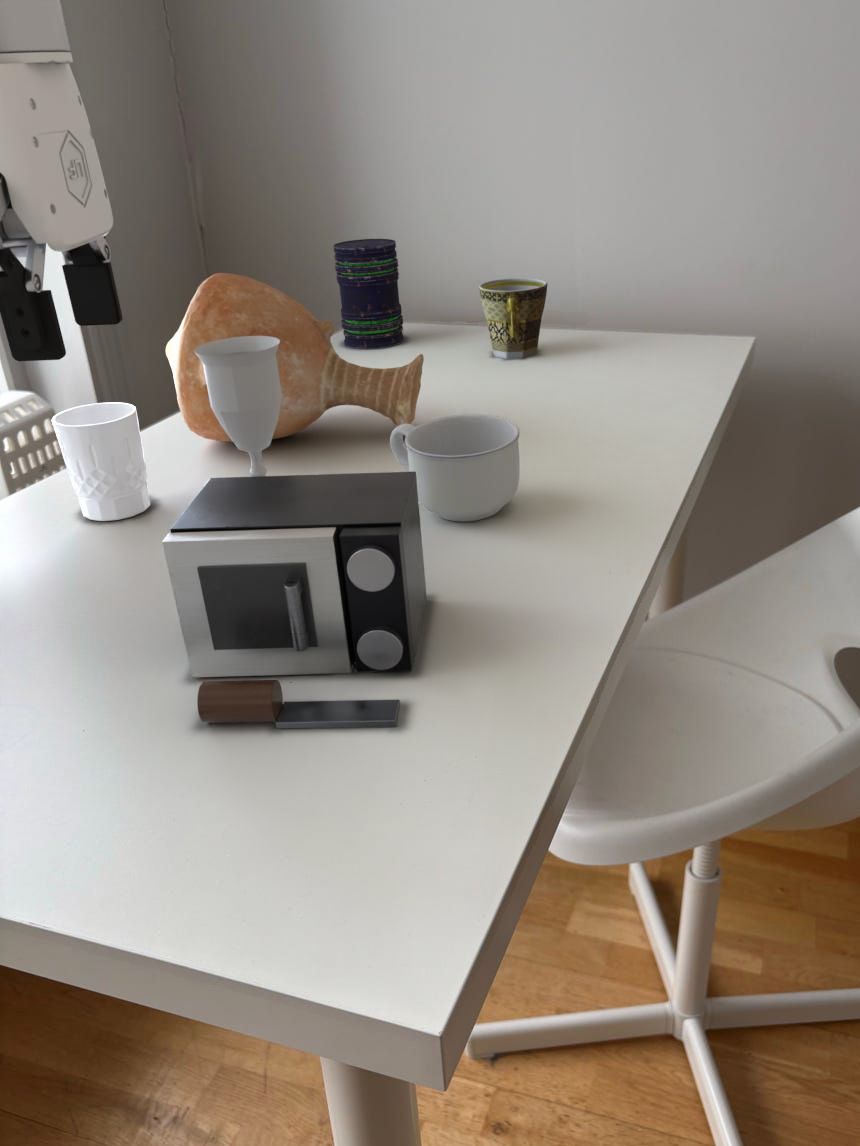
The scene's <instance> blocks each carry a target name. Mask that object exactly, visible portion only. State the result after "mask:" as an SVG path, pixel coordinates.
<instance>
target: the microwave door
mask: <svg viewBox="0 0 860 1146" xmlns="http://www.w3.org/2000/svg"><path fill="white" fill-rule="evenodd" d="M162 547H163V552H164V556H165V561H166V566H167V570H168V575H169V579H170V582H171V583H170V584H171V588H172V594H173V597H174V601H175V605H176V610H177V616H178V620H179V624H180V629H181V633H182V637H183V642H184V646H185V651H186V656H187V661H188V665H189V670H190V673H191V678H220V677H222V678H223V677H253V676H256V677H257V676H290V675H291V676H292V675H293V676H294V675H325V674H326V675H328V674H351V673H352V670H353V667H354V664H355V663H354V658H353V651H352V643H351V635H350V627H349V620H348V612H347V604H346V596H345V589H344V581H343V573H342V565H341V558H340V550H339V542H338V534H337V528H336V527H322V528H293V529H265V530H237V531H209V532H180V533H171V532H169V533H168V534H167V535H166V536H165V538H164V539H163V540H162Z"/></svg>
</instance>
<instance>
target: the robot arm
mask: <svg viewBox="0 0 860 1146" xmlns="http://www.w3.org/2000/svg"><path fill="white" fill-rule="evenodd" d="M66 27H67V26H66V23H65V18H64V14H63V8H62V4H61V0H0V318H1V322H2V324H3V328H4V332H5V336H6V340H7V343H8V347H9V350H10V354H11V357H12V358H13V359H14V361H17V362H37V361H59V360H61V359H63V358H64V357H65V356H66V355H67V350H66V346H65V342H64V338H63V333H62V329H61V325H60V322H59V317H58V313H57V310H56V306H55V302H54V298H53V292H52V289H43V288H44V287H43V286H44V276H45V264H46V251H47V247H49V249H51V250H52V251H54V252H56V253H57V252H59V253H61V254H62V255H63V257H64V258H65V260H66V262H67V263H65V264H63V265H61V268H62V272H63V276H64V280H65V284H66V288H67V292H68V297H69V301H70V305H71V309H72V314H73V317H74V322H75V324H76V325H78V326H80V327H87V326H89V327H90V326H110V325H111V326H113V325H118V324H120V323H122V322H123V314H122V313H123V312H122V309H121V308H122V307H121V304H120V299H119V294H118V289H117V285H116V280H115V276H114V272H113V267H112V262H111V260H112V252H111V248H110V246H109V244H108V242H107V240H106V236H107V235H108V234H109V233H110V231H112V228H113V226H114V216H113V211H112V210H113V209H112V207H111V206H112V205H111V201H110V197H109V194H108V190H107V186H106V182H105V178H104V174H103V169H102V167H101V166H102V165H101V162H100V158H99V154H98V151H97V150H98V149H97V147H96V143H95V139H94V135H93V132H92V129H91V124H90V121H89V117H88V114H87V111H86V108H85V107H86V106H85V105H84V102H83V99H82V96H81V92H80V90H79V87H78V84H77V82H76V79H75V76H74V74H73V71H72V69H71V66H70V64H73V63H74V59H73V55H72V52H71V46H70V41H69V37H68V32H67V28H66ZM18 258H25V261H24V265H23V264H22V262H21V261H20V259H18Z"/></svg>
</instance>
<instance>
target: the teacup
mask: <svg viewBox="0 0 860 1146" xmlns="http://www.w3.org/2000/svg"><path fill="white" fill-rule="evenodd" d="M403 434H404V435H406V437H405V438H404V441H403V437H404V435H403ZM519 438H520V429H519V427H518V425H517V424H516V423H515V422H513V421H511V420H510V419H507V418H504V417H502V416H497V415H492V414H482V413H463V414H453V415H446V416H441V417H438V418H437V417H436V418H434V419H430V420H428V421H425V422H423V423H421V424H419V425H416V426H415V425H414V424H412V423H411V424H401V425H399V426H396V427H394V429H393V430H392V431H391V433H390V438H389V445H390V448H391V452H392V454H393V456H394V458H395V459H396V461H397V462H398V463H399V464H400V465H401V466H402V467H403V468H404V469H405V470H407V472H413V471H415V472H416V479H417V481H416V482H417V491H418V503H419V504H420V505H421V506H422V507H423V508H425V509H426V510H428V511H429V512H431V513H433V514H434V515H435V516H437V517H438V518H441V519H443V520H446V521H450V522H475V521H480V520H484V519H486V518H490V517H492V516H494V515H495V514H497V513H498V512H500V511H501V510H502V508H504V506H506V505H507V504H508V503H509V502H510V501H511V500H512V499H513V498H514V496H515V495H516V493H517V491H518V488H519V482H520V445H519Z"/></svg>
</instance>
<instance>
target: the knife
mask: <svg viewBox="0 0 860 1146" xmlns="http://www.w3.org/2000/svg"><path fill="white" fill-rule="evenodd" d="M196 701H197V703H196V704H197V712H198V713H197V714H198V716H199V718H200V721H201V722H202V723H205V724H209V723H210V724H211V723H213V724H216V723H217V724H218V723H267V722H268V723H269V722H273V723H274V722H275V727H276V729H278V730H279V729H324V728H325V729H329V728H330V729H332V728H333V729H335V728H337V729H339V728H391V727H393V728H396V727H397V722H398V718H399V715H400V714H399V713H400V709H401V700H400V699H361V700H360V699H358V700H357V699H355V700H353V699H352V700H349V699H348V700H303V701H301V700H298V701H297V700H296V701H284V695H283V687H282V685H281V682H280V680H279V679H236V680H232V679H231V680H203V681H202V682H201V683H200V684H199V687H198V691H197V700H196Z"/></svg>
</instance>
